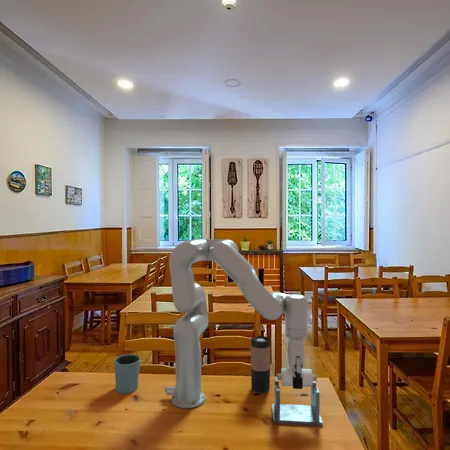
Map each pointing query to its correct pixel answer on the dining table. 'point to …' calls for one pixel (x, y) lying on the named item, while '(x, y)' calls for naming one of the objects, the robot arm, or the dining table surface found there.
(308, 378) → the paper roll
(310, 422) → the roll holder
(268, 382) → the travel mug
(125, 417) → the dining table surface
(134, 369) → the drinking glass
